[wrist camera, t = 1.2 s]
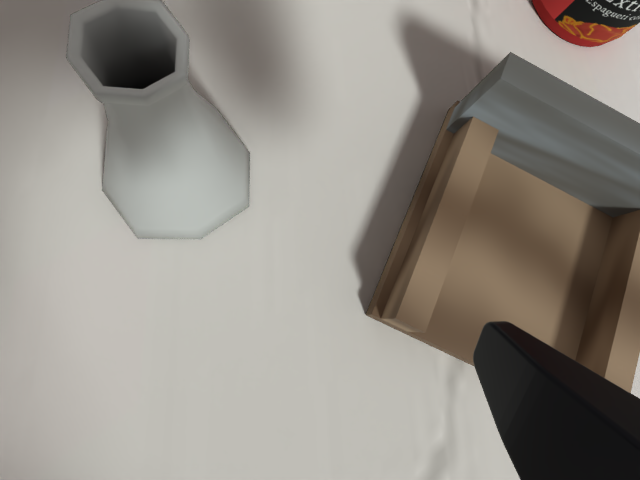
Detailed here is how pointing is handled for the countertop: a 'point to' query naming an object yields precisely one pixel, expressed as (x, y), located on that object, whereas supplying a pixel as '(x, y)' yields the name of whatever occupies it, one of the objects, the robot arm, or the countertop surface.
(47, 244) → the countertop surface
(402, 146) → the countertop surface
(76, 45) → the flask
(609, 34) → the canned food
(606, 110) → the stand
